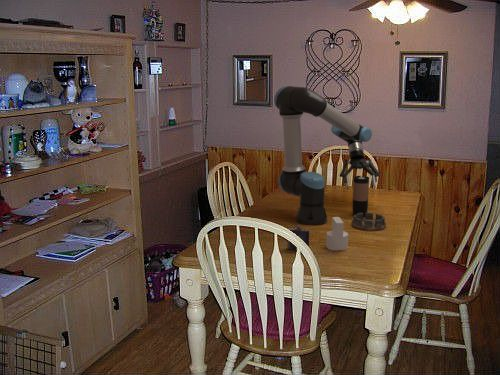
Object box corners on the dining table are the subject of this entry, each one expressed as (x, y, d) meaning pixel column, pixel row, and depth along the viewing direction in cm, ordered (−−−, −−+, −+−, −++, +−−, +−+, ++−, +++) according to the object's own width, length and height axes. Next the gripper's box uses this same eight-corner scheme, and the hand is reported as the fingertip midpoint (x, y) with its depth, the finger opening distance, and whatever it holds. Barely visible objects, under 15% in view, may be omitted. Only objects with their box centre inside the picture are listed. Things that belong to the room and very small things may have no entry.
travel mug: (357, 218, 274) (359, 179, 269) (349, 214, 281) (350, 176, 276) (370, 216, 277) (372, 178, 272) (361, 213, 284) (363, 175, 279)
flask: (286, 249, 231) (286, 225, 228) (288, 247, 233) (288, 223, 231) (308, 252, 228) (308, 227, 225) (309, 249, 231) (310, 225, 228)
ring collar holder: (367, 233, 251) (368, 223, 250) (344, 224, 265) (344, 215, 264) (393, 227, 260) (393, 218, 258) (369, 219, 273) (369, 210, 272)
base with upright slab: (324, 243, 238) (325, 217, 235) (345, 243, 238) (346, 216, 235) (328, 250, 229) (329, 223, 226) (349, 250, 229) (351, 222, 227)
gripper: (378, 157, 294) (384, 191, 283) (331, 157, 293) (335, 191, 282) (381, 148, 287) (387, 183, 276) (333, 149, 286) (338, 184, 275)
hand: (361, 187), depth 279 cm, fingers open, 13 cm apart
